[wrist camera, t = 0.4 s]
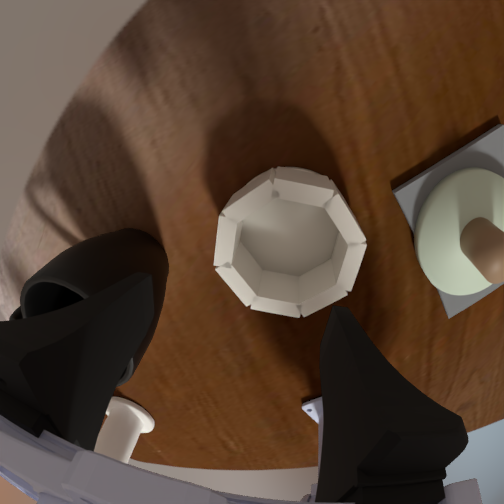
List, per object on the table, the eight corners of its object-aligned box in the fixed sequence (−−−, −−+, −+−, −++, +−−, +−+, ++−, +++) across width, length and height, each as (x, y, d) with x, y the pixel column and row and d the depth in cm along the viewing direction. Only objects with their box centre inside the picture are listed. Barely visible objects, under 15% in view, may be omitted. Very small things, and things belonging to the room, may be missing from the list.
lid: (523, 248, 18) (555, 278, 14) (437, 306, 21) (457, 346, 17) (495, 144, 16) (536, 159, 11) (392, 209, 19) (416, 239, 15)
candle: (101, 410, 36) (30, 556, 13) (109, 388, 32) (23, 559, 10) (147, 434, 36) (89, 585, 14) (161, 416, 33) (95, 594, 11)
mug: (51, 226, 23) (-25, 280, 15) (169, 202, 21) (95, 270, 13) (83, 305, 27) (27, 372, 18) (197, 302, 25) (155, 395, 16)
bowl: (370, 243, 21) (385, 274, 17) (274, 296, 23) (269, 333, 20) (307, 142, 18) (311, 151, 15) (206, 211, 21) (187, 235, 17)
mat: (533, 255, 19) (537, 258, 18) (446, 314, 22) (448, 318, 22) (499, 123, 15) (503, 124, 15) (392, 190, 19) (394, 193, 18)
